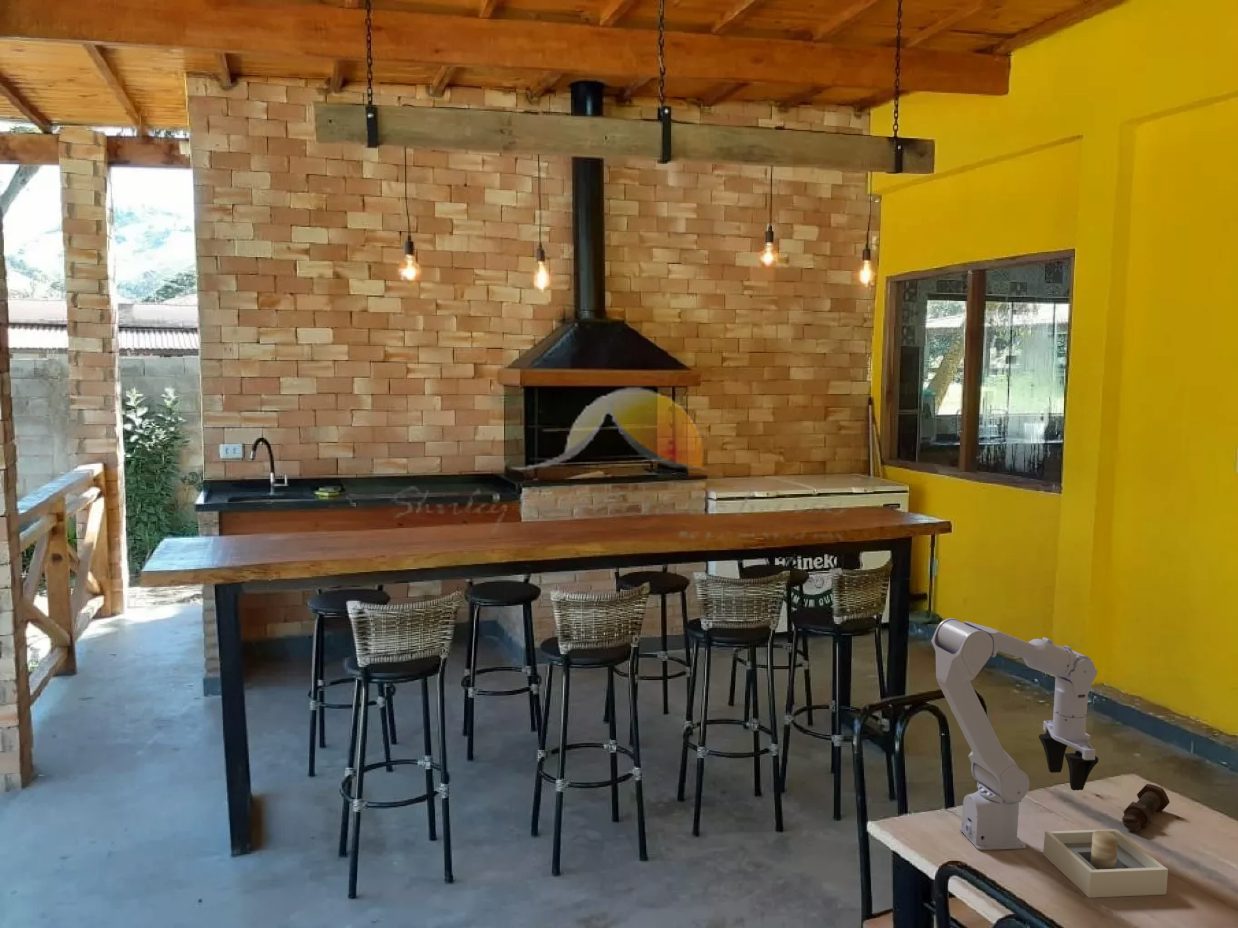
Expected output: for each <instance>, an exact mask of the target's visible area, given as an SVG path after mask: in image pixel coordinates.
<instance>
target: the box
mask: <svg viewBox="0 0 1238 928" xmlns="http://www.w3.org/2000/svg"><path fill="white" fill-rule="evenodd" d="M1095 831H1104V832H1108V833H1111V834H1113V835H1115V836H1116V837H1117V838H1118V847H1117V861H1116V869H1099V870H1097V869H1096V868H1095V867H1094V866H1092V865H1091V850H1092V836H1093V832H1095ZM1042 855H1043V856H1044V857H1045V858H1046V859H1047V860H1048V861H1050V863H1052V865H1054V866H1055V867H1056V868H1057V869H1058V870H1059V871H1060V872H1061V873H1062V874H1063V875H1064V876H1065V877H1067V879H1068V880H1070V881H1071V883H1073V884H1074V885H1075V886H1076V887H1077V888H1078V889H1079V890H1080V891H1081V892H1082V893H1083V894H1085V895H1086V896H1087V897H1088V899H1089V898H1090V899H1091V898H1111V897H1112V898H1113V897H1114V898H1115V897H1130V896H1131V897H1136V896H1138V897H1139V896H1140V897H1141V896H1158V895H1159V896H1161V895H1164V896H1165V895H1166V894H1167V887H1168V876H1169V869H1168V868H1167V867H1166V866H1164V865H1163V864H1162V863H1161V862H1160V861H1158V860H1156V859H1155V858H1154V857H1153V856H1152V855H1150V854H1149V853H1148V852H1146V851H1145V850H1144V849H1142V848H1141V847H1140V846H1138V844H1136V843H1135V842H1133V841H1132V840H1131V839H1130V838H1129V837H1127V836H1126V835H1125V834H1123V833H1122V832H1121V831H1119V830H1118V829H1117V828H1110V829H1108V828H1107V829H1102V828H1101V829H1081V830H1080V829H1077V830H1076V829H1075V830H1073V829H1072V830H1049V831H1047V830H1046V831H1044V838H1043V853H1042Z"/></svg>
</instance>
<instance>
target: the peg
mask: <svg viewBox="0 0 1238 928" xmlns="http://www.w3.org/2000/svg"><path fill="white" fill-rule="evenodd" d="M1117 847H1118V838H1117V837H1116V836H1115V835H1113V834H1111V833H1108V832H1104V831H1095V832H1093V836H1092V850H1091V865H1092V866H1094V867H1095V868H1096V869H1097V870H1099V869H1116V861H1117Z"/></svg>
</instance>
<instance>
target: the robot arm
mask: <svg viewBox="0 0 1238 928" xmlns="http://www.w3.org/2000/svg"><path fill="white" fill-rule="evenodd" d="M931 644H932V647H933V649H934V651H935V677H936V681H937V684H938V686H939V688H940V690H941V692H942V694H943V696H944V699H945V700H946V703H947V705H948V706H949V708H950V711H951V712H952V714H953V716H954V719H955V720H956V722H957V724H958V726H959V728H960V730H961V732H962V734H963V736H964V738H965V740H966V741H967V744H968V746H969V748H970V753H969V754H968V759H969V761H970V767H971V769H970V771H971V775H972V777H973V778H974V780H975V781H976V788H977V789H978V790H977V791H975V792H972V793H968V794H965V796H964V798H963V802H962V811H961V812H962V813H961V814H962V817H961V820H962V821H961V826H960V827H959V831H961V832H963V833H964V834H963V833H962V834H963V835H964V836H965V837H966V838H967V839H968V840H969V841H970V843H972V844H973V845H974V847H975V848H976V849H977V850H979V851H986V850H987V851H988V850H1014V849H1015V850H1017V849H1019V850H1020V849H1026V848H1027V845H1026V844H1025V843H1024V841H1022V839H1020V838H1019V837H1018V826H1019V824H1018V823H1019V810H1020V808H1019V807H1020V803H1022V800H1023V799H1024V798H1025V797H1026V796H1027V794H1028V792H1029V788H1030V779H1029V776H1028V774H1027V773H1026V772H1025V771H1023V770H1021V769H1020V768H1019V767H1018V764H1017V763H1016V761H1015V760H1014V759H1013V758H1012V757H1011V756H1010V755H1009V753H1008V752H1007V751H1006V750H1005V749H1004V748H1003V746H1002V744H1001V742H1000V740H999V737H998V736H997V734H996V732H995V730H994V728H993V727H994V726H992V723H991V722H990V719H989V718H988V715H987V713H986V711H985V709H984V707H983V706H982V703H981V701H980V699H979V697H978V695H977V693H976V691H975V689H974V686H973V685H972V683H971V681H973V680H974V679H975V678H976V677H977V675H978V674H979V673H980V671H981V670H982V668H983V667H984V666H985V665H986V664H987V662H988V661H989V659H990V658H991V657H992V658H995V657H997V653H998V652H1002V653H1005V654H1008V655H1012V656H1015V657H1017V658H1018V657H1019V658H1021V659H1023V662H1024V663H1025V665H1026V666H1027V667H1028V668H1030V669H1033V670H1035V671H1039V672H1042V673H1044V674H1047V675H1050V676H1053V677H1055V680H1054V681H1055V682H1054V684H1055V685H1054V695H1053V696H1054V698H1053V699H1054V700H1053V715H1052V720H1043V723H1042V724H1043V726H1042V730H1043V731H1044V732H1045V733H1041V734H1040V733H1039V735H1038V739H1039V741H1040V742H1041V744H1042V747H1043V749H1044V753H1045V757H1046V763H1047V767H1048V771H1049V772H1050V773H1053V774H1054V773H1055V774H1056V773H1061V772H1062V769H1063V766H1064V759H1066V762H1067V767H1068V772H1069V785H1070V790H1072V791H1083V790H1084V788H1085V786H1086V783H1087V780H1088V777H1089V775H1090V773H1091V772H1092V770H1093V768H1094V767H1096V765H1097V764H1098V763H1099V757H1098V756H1096V749H1095V748H1094V747H1093V746H1092V745H1091V743H1090V742H1089V741H1090V740H1091V735H1090V734H1088V733H1087V732H1086V731H1087V730H1086V728H1087V727H1086V726H1087V715H1088V713H1087V712H1088V702H1089V701H1088V698H1089V694H1090V692H1091V691H1092V689H1091V688H1092V684H1093V682H1094V681H1095V679H1096V678H1097V674H1098V670H1097V669H1096V666H1095V664H1094V661H1093V660H1092V658H1091V657H1089V656H1087V655H1085V654H1082V653H1079V652H1077V651H1075V650H1073V648H1072V647H1070V646H1069V645H1068V646H1067V645H1063V646H1060V645H1057V644H1054V641H1053V639H1050V638H1047V637H1044V636H1043V637H1042V638H1033V639H1031V640H1029V641H1025V640H1023V639H1020V638H1018V637H1015V636H1012V635H1009V634H1007V633H1004V632H1002V631H1000V630H997V629H995V628H992V627H989V626H986V625H982V624H977V623H975V622H970V621H966V620H965V621H964V620H963V622H962V621H960V620H959V619H958V618H954V617H951V618H949V617H948V618H946V619H944V620H942V621H941V622H940V623H939V624H938V625H937V627H936V629H935V631H934V634H933V636H932V637H931ZM1067 747H1069V748H1071V749H1073V750H1074V751H1075V752H1068V753H1067V752H1066V750H1067Z"/></svg>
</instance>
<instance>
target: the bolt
mask: <svg viewBox="0 0 1238 928" xmlns="http://www.w3.org/2000/svg"><path fill="white" fill-rule="evenodd" d="M1136 796H1137V798H1138V800H1137V801H1132V802H1131V803H1130V804H1129V805H1128V806H1127V807H1126V808H1125V809H1123V815H1122V819H1121V820H1122V821H1121V822H1122V824H1123V826H1124V827H1125V828H1126V829H1127V830H1130V831H1133V832H1134V831H1137V830H1139V829H1140V828H1141V829H1144V828H1146V826H1148V824H1149V823H1150V822H1151V821H1152V820H1153V817H1152V814H1153V813H1154V812H1155V813H1159V814H1161V813H1162V812H1163V811H1164V809H1165V808H1166V807H1168V805H1170V799H1169V797H1168V793H1166V791H1165V790H1164V788H1163V787H1161V786H1158V785H1154V784H1151V783H1150V784H1149V783H1146V784H1145V785H1144V786H1143V787H1142V788H1141V789H1140V790H1139V791H1138V793H1137V794H1136Z"/></svg>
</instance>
